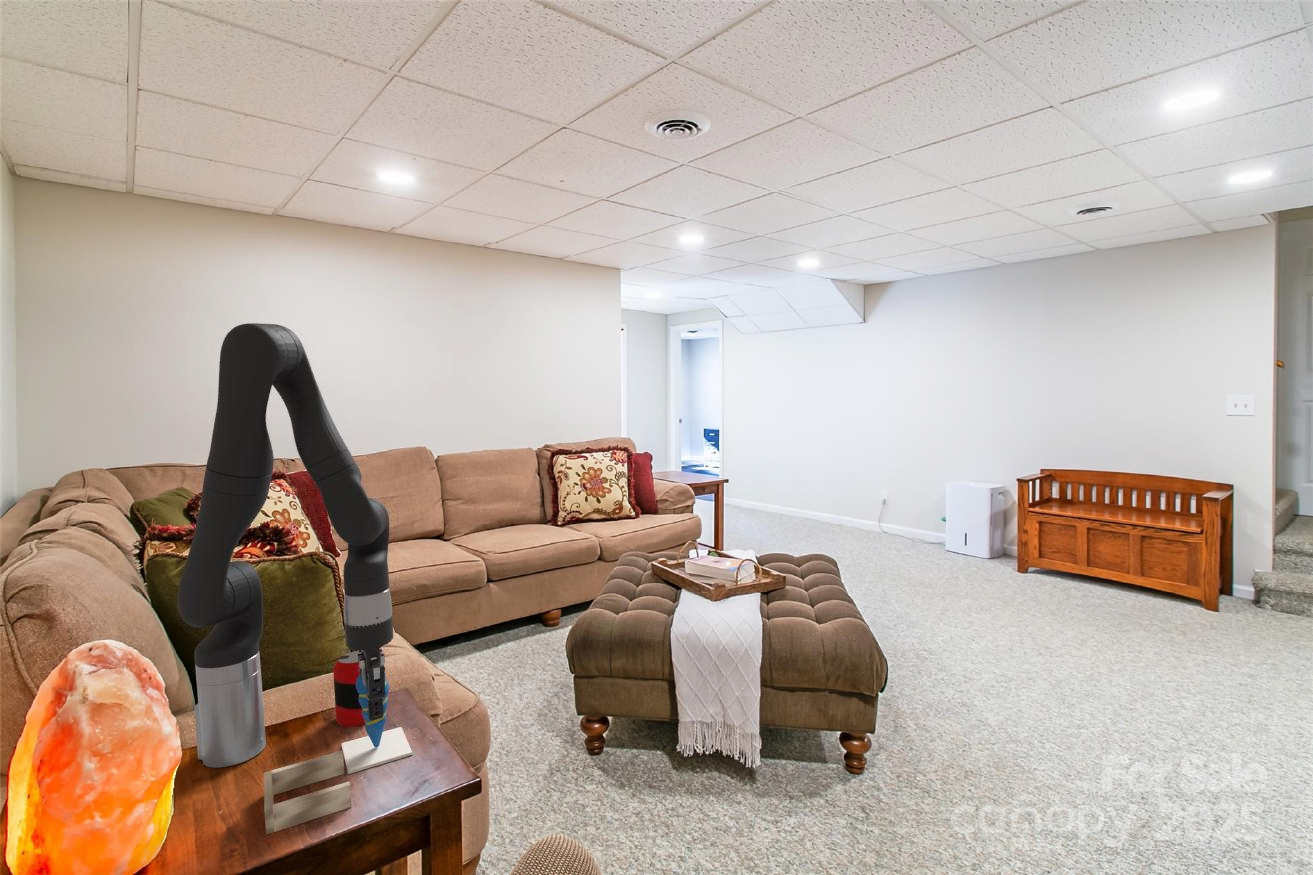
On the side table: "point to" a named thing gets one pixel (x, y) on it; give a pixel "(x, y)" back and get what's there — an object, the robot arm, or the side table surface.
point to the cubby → (310, 803)
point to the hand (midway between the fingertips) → (373, 711)
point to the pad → (375, 750)
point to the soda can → (347, 691)
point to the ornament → (372, 727)
